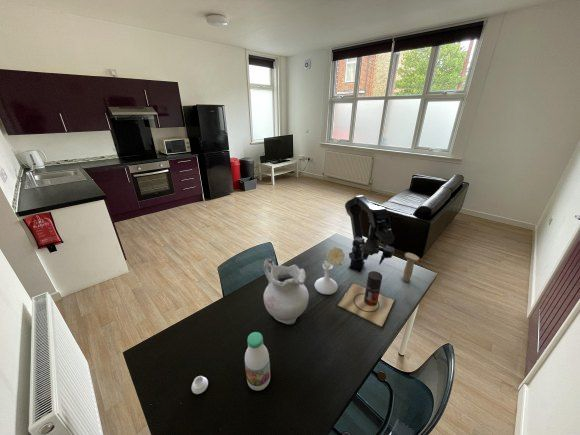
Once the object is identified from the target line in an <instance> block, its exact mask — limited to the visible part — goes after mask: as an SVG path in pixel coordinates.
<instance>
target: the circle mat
mask: <svg viewBox="0 0 580 435" xmlns="http://www.w3.org/2000/svg"><path fill="white" fill-rule="evenodd" d="M365 290H366V287H364V286H361V285H359V284H356V283H353V282H352V284H351V286H350V287H349V289H348V290H347V291H346V292H345V294H344V296H343V297H342V298H341V299H340V301H339V303H338V304H337V306H338V308H339V307H340V308H342V309H344V310H346V311H347V312H349V313H352V314H354V315H356V316H357V317H360V318H362V319H364V320H366V321H368V322H370V323H372V324H375V325H376V326H378V327H381V328H383V326H384V325H385V322H386V320H387V317H388V315H389V313H390V311H391V309H392V307H393V304H394V302H395V300H394V299H393V298H390V297H388V296H385V295H382V294H380V293H379V297H378V302H377V305H375V306H369V305H367V304H366V303H365V302H364V296H365Z"/></svg>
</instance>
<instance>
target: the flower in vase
mask: <svg viewBox="0 0 580 435" xmlns="http://www.w3.org/2000/svg"><path fill="white" fill-rule="evenodd" d="M344 260H345V252H344V251H343V249H342V248H339V247H336V246H335V247H333V248H330V249H328V251H327V253H326V260H323V262H324V263H322V268H323V270H324V276H323V277H320V278H318V279H316V281H315V282H314V288H315V290H316V291H317V292H318V293H319V294H322V295H333V294H334V293H336V292H337V291H338V289H339V288H338V287H339V286H338V283H337V282H336V281H335V280H334V279H333V278H331V277H330V273H331V270H332V269H333V267H334V266H337V267H338V266H342V265H343V264H342V263H343V261H344Z"/></svg>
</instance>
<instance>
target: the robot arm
mask: <svg viewBox="0 0 580 435" xmlns="http://www.w3.org/2000/svg"><path fill="white" fill-rule="evenodd" d="M344 208H345V211H346V214H347V215H348V216H349V218H350V224H351V230H352V237H353V238H352V239H353V240H352V244H351V245H352V247H351V252H349V253H348V257H349V259H350V266H348V269H349V270H352V271H355V272H357V273H361V272H362V271H363V270H364V269H365V263H366V262H365V261H367V260H368V258H369V257H370V256H373V255H375V254H376V255H378V254H379V252H382V253H381V257H380V259H379V263H378V265H379V266H381V264H382V263H383V261H384V260H385V259H392V257H393V255H394V254H395V251H396V250H395V248H394V247H393V246H391V244H393V243H394V241H395V239H396V237H395V234H394V233H393V231H392V229H391V228H389V227H391V218H390V214H389V212H388V210H387V208H385V207H382V206H378V205H375V204H374V203H372V202H371V201H370V200H368V198H366V196H365V195H356V196H354V197H352V198H351V199H349V200H347V201H346V202H345V204H344ZM362 211H365V212H366V213H367V218H368V222H369V223H370V225H369V229H368V235H367V238H366V240H365V238H364V237H363V230H362V224H361V213H362ZM381 243H382V244H383V245H384V246H385V247H383V246H381ZM389 245H390V246H389Z"/></svg>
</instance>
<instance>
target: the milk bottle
mask: <svg viewBox="0 0 580 435" xmlns="http://www.w3.org/2000/svg"><path fill="white" fill-rule="evenodd" d="M246 339H247V340H246V341H247V349H246V350H245V353H244V366H245V374H246V375H245V376H246V381H247V386H248V387H249V388H250V389H251V390H253V391H262V390H264V389H265V388H266V387H267V386H268V385H269V383H270V381H271V363H270V354H269V351H268V348H267V347H266V345H265V344H264V337H263V335H262V333H260V332H258V331H253V332H251V333H250V334H248V336H247V338H246Z"/></svg>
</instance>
